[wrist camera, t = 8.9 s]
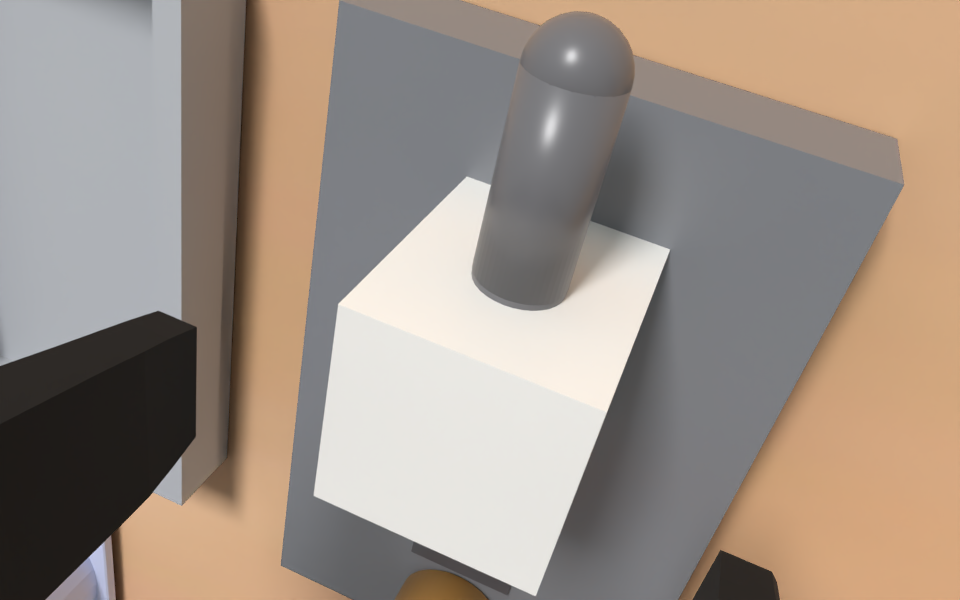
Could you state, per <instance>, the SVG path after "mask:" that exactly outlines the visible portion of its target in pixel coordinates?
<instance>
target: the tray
mask: <svg viewBox="0 0 960 600" xmlns="http://www.w3.org/2000/svg"><path fill="white" fill-rule="evenodd" d="M245 17H246V0H0V366H1V365H4V364H7V363H10V362H13V361H16V360H18V359H21V358H24V357H27V356H30V355H33V354H36V353H38V352H41V351H44V350H47V349H50V348H53V347H56V346H58V345H61V344H64V343H67V342H70V341H72V340H75V339H78V338H81V337H83V336H86V335H89V334H92V333H94V332H97V331H100V330H103V329H106V328H108V327H111V326H114V325H117V324H120V323H123V322H125V321H128V320H131V319H134V318H137V317H140V316H143V315H146V314H150V313H153V312H156V311H161V312H163V313H165V314H168V315H170V316H172V317H175V318H177V319H179V320H182V321H184V322H186V323H189V324H191V325H193V326H196V327H197V376H196V437H195V439H194V440H193V441H192V443H191V444H190V445H189V447H188V448H187V449H186V451H185V452H184V453H183V455H182V456H181V457H180V458H179V460H178V461H177V462H176V464H175V465H174V466H173V468H172V469H171V470H170V472H169V473H168V474H167V475H166V477H165V478H164V479H163V480H162V481H161V483H160V484H159V485H158V486H157V488H156V489H155V490H154V491H153V492H154V493H156V494H158V495H160V496H162V497H164V498H166V499H168V500H170V501H173V502H175V503H177V504H179V505H181V506H182V505H183V504H184V503H185V502H186V501H187V500H188V499H189V497H190V496H191V495H192V494H193V493H194V492H195V491H196V490H197V489H198V488H199V487H200V486H201V485H202V484H203V483H204V482H205V480H206V479H207V478H208V477H209V476H210V475H211V474H212V473H213V472H214V471H215V470H216V469H217V468H218V467H219V466H220V465H221V463H222V462H223V461H224V460H225V459H226V458H227V446H228V422H229V398H230V375H231V351H232V327H233V303H234V279H235V255H236V232H237V208H238V184H239V160H240V136H241V112H242V89H243V65H244V41H245Z"/></svg>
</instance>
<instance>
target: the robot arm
mask: <svg viewBox="0 0 960 600" xmlns="http://www.w3.org/2000/svg"><path fill="white" fill-rule="evenodd" d="M196 376H197V327H196V326H193V325H191V324H189V323H186V322H184V321H182V320H179V319H177V318H175V317H172V316H170V315H168V314H165V313H163V312H161V311H156V312H153V313H150V314H146V315H143V316H140V317H137V318H134V319H131V320H128V321H125V322H123V323H120V324H117V325H114V326H111V327H108V328H106V329H103V330H100V331H97V332H94V333H92V334H89V335H86V336H83V337H81V338H78V339H75V340H72V341H70V342H67V343H64V344H61V345H58V346H56V347H53V348H50V349H47V350H44V351H41V352H38V353H36V354H33V355H30V356H27V357H24V358H21V359H18V360H16V361H13V362H10V363H7V364H4V365H1V366H0V600H116V596H115V582H114V569H113V555H112V542H111V535H112V534H113V533H114V532H115V531H116V530H117V529H118V528H119V527H120V526H121V525H122V524H123V523H124V522H125V521H126V520H127V519H128V518H129V517H130V516H131V515H132V514H133V513H134V512H135V511H136V510H137V509H138V508H139V507H140V506H141V505H142V503H143V502H144V501H145V500H146V499H147V498H148V497H149V496H150V495H151V494H152V493H153V491H154V490H155V489H156V488H157V486H158V485H159V484H160V483H161V481H162V480H163V479H164V478H165V477H166V475H167V474H168V473H169V472H170V470H171V469H172V468H173V466H174V465H175V464H176V462H177V461H178V460H179V458H180V457H181V456H182V455H183V453H184V452H185V451H186V449H187V448H188V447H189V445H190V444H191V443H192V441H193V440H194V439H195V437H196ZM693 600H780V598H779V592H778V586H777V582H776V579H775V577H774V575H773V573H772V572H771V571H769V570H766V569H764V568H762V567H759V566H757V565H755V564H752V563H750V562H747V561H745V560H743V559H740V558H738V557H736V556H733V555H731V554H729V553H726V552H724V551H722V550H720V552H719V554H718V556H717V557H716V559H715V561H714V563H713V565H712V566H711V568H710V570H709V572H708V573H707V575H706V577H705V579H704V581H703V582H702V584H701V586H700V588H699V589H698V591H697V593H696V595H695V596H694V598H693Z"/></svg>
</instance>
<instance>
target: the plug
mask: <svg viewBox="0 0 960 600" xmlns="http://www.w3.org/2000/svg"><path fill="white" fill-rule="evenodd" d="M634 77H635V63H634V58H633V53H632V49H631V47H630V45H629V43H628V40H627V39H626V37H625V36H624V35H623V33H622V32H621V31H620V29H619V28H617V27H616V26H615V25H614V24H613V23H612V22H610V21H609V20H607V19H606V18H603V17H601V16H599V15H597V14H593V13H589V12H578V11H575V12H569V13H564V14H560V15H558V16H556V17H554V18H551V19H549V20H548V21H546V22H545V23H543V24H542V25H541V26H539V28H538V29H537V30H536V31H535V32H534V33H533V34H532V35H531V37H530V38H529V40H528V41H527V43H526V45H525V47H524V49H523V52H522V55H521V58H520V62H519V66H518V70H517V74H516V79H515V83H514V87H513V92H512V96H511V100H510V104H509V109H508V113H507V117H506V122H505V126H504V130H503V135H502V139H501V143H500V147H499V152H498V156H497V160H496V165H495V169H494V173H493V178H492V182H491V185H489V184H487V183H484V182H481V181H478V180H475V179H473V178H470V177H466V178H465V179H464V180H463V181H462V182H461V183H460V184H459V185H458V186H457V187H456V188H455V189H454V190H453V191H452V192H451V193H450V194H449V195H448V196H447V197H446V198H445V199H444V200H443V201H442V202H441V203H440V204H439V205H438V206H437V207H436V208H435V209H434V210H433V211H432V212H431V213H430V214H429V215H428V216H427V217H425V218H424V219H423V220H422V221H421V222H420V223H419V224H418V225H417V226H416V227H415V228H414V229H413V230H412V231H411V232H410V233H409V234H408V235H407V236H406V237H405V238H404V239H403V240H402V241H401V242H400V243H399V244H398V245H397V246H396V247H395V248H394V249H393V250H392V251H391V252H390V253H389V254H388V255H387V256H386V257H385V258H384V259H383V260H382V261H381V262H380V263H379V264H378V265H377V266H376V267H375V268H374V269H373V270H372V271H371V272H370V273H369V274H368V275H367V276H366V277H365V278H364V279H363V280H362V281H361V282H360V283H359V284H358V285H357V286H356V287H355V288H354V289H353V290H352V291H351V292H350V293H349V294H348V295H347V296H346V297H345V298H344V299H343V300H342V301H341V302H340V303H339V304H338V310H337V318H336V325H335V333H334V341H333V349H332V356H331V364H330V372H329V380H328V387H327V395H326V403H325V411H324V418H323V426H322V434H321V442H320V449H319V457H318V465H317V473H316V480H315V488H314V496H315V497H317V498H320V499H322V500H324V501H326V502H328V503H331V504H333V505H335V506H337V507H339V508H342V509H344V510H346V511H348V512H350V513H353V514H355V515H357V516H359V517H361V518H364V519H366V520H368V521H370V522H373V523H375V524H377V525H379V526H381V527H384V528H386V529H388V530H390V531H392V532H395V533H397V534H399V535H401V536H403V537H406V538H408V539H410V540H412V541H414V542H417V543H419V544H421V545H423V546H425V547H428V548H430V549H432V550H434V551H437V552H439V553H441V554H443V555H445V556H448V557H450V558H452V559H454V560H456V561H459V562H461V563H463V564H465V565H467V566H470V567H472V568H474V569H476V570H478V571H481V572H483V573H485V574H487V575H489V576H492V577H494V578H496V579H498V580H500V581H503V582H505V583H507V584H509V585H512V586H514V587H516V588H518V589H520V590H523V591H525V592H527V593H529V594H531V595H534V596H536V594H537V592H538V589H539V586H540V584H541V581H542V579H543V576H544V574H545V571H546V568H547V566H548V563H549V561H550V558H551V556H552V553H553V550H554V548H555V545H556V543H557V540H558V538H559V535H560V532H561V530H562V527H563V525H564V522H565V520H566V517H567V514H568V512H569V509H570V507H571V504H572V502H573V499H574V496H575V494H576V491H577V489H578V486H579V484H580V481H581V478H582V476H583V473H584V471H585V468H586V466H587V463H588V460H589V458H590V455H591V453H592V450H593V448H594V445H595V442H596V440H597V437H598V435H599V432H600V430H601V427H602V424H603V422H604V419H605V417H606V414H607V412H608V409H609V406H610V404H611V401H612V399H613V396H614V394H615V391H616V388H617V386H618V383H619V381H620V378H621V375H622V373H623V370H624V368H625V365H626V363H627V360H628V357H629V355H630V352H631V350H632V347H633V344H634V342H635V339H636V337H637V334H638V332H639V329H640V326H641V324H642V321H643V319H644V316H645V313H646V311H647V308H648V306H649V303H650V301H651V298H652V295H653V293H654V290H655V288H656V285H657V282H658V280H659V277H660V275H661V272H662V270H663V267H664V264H665V262H666V259H667V257H668V254H669V251H670V249H667V248H665V247H662V246H659V245H656V244H654V243H651V242H648V241H645V240H642V239H640V238H637V237H634V236H631V235H628V234H626V233H623V232H620V231H617V230H615V229H612V228H609V227H606V226H603V225H601V224H598V223H595V222H592V221H590V220H591V217H592V214H593V211H594V208H595V204H596V201H597V198H598V195H599V192H600V189H601V185H602V182H603V179H604V176H605V173H606V170H607V166H608V163H609V160H610V157H611V154H612V151H613V148H614V144H615V141H616V138H617V135H618V132H619V129H620V125H621V122H622V119H623V116H624V113H625V110H626V106H627V103H628V100H629V97H630V94H631V91H632V87H633V82H634Z"/></svg>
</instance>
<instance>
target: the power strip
mask: <svg viewBox="0 0 960 600" xmlns="http://www.w3.org/2000/svg"><path fill="white" fill-rule="evenodd" d="M539 26H540V25H536V24H533V23H530V22H527V21H524V20H521V19H518V18H514V17H511V16H508V15H505V14H502V13H499V12H495V11H492V10H489V9H486V8H483V7H480V6H477V5H473V4H470V3H467V2H464V1H461V0H339V9H338V19H337V29H336V38H335V48H334V58H333V67H332V77H331V86H330V96H329V106H328V115H327V125H326V135H325V144H324V154H323V164H322V173H321V183H320V192H319V202H318V212H317V221H316V231H315V241H314V250H313V260H312V270H311V279H310V289H309V298H308V308H307V318H306V327H305V337H304V347H303V356H302V366H301V376H300V385H299V395H298V404H297V414H296V424H295V433H294V443H293V453H292V462H291V472H290V481H289V491H288V501H287V510H286V520H285V530H284V539H283V549H282V559H281V566H283V567H285V568H287V569H289V570H291V571H294V572H296V573H298V574H300V575H302V576H304V577H306V578H308V579H310V580H313V581H315V582H317V583H319V584H321V585H323V586H325V587H327V588H329V589H331V590H334V591H336V592H338V593H340V594H342V595H344V596H346V597H348V598H350V599H353V600H395V598H396V596H397V594H398V593H399V591H400V589H401V587H402V586H403V584H404V582H405V580H406V579H407V578H408V577H409V576H410V575H411V574H413V573H415V572H417V571H421V570H429V569H430V570H440V571H445V572H448V573H451V574H454V575H456V576H459V577H461V578H463V579H464V580H466V581H468V582H469V583H471V584H472V585H474V586H475V587H476V588H477V589H478V590H479V591H481V592H482V593H483V595H484V596H485V597H486V598H487V599H488V600H678V599H679V597H680V595H681V593H682V592H683V590H684V588H685V586H686V584H687V582H688V581H689V579H690V577H691V575H692V573H693V571H694V570H695V568H696V566H697V564H698V562H699V560H700V559H701V557H702V555H703V553H704V551H705V549H706V548H707V546H708V544H709V542H710V540H711V538H712V537H713V535H714V533H715V531H716V529H717V527H718V526H719V524H720V522H721V520H722V518H723V516H724V515H725V513H726V511H727V509H728V507H729V505H730V504H731V502H732V500H733V498H734V496H735V494H736V493H737V491H738V489H739V487H740V485H741V483H742V482H743V480H744V478H745V476H746V474H747V472H748V471H749V469H750V467H751V465H752V463H753V461H754V460H755V458H756V456H757V454H758V452H759V450H760V449H761V447H762V445H763V443H764V441H765V439H766V438H767V436H768V434H769V432H770V430H771V428H772V427H773V425H774V423H775V421H776V419H777V417H778V416H779V414H780V412H781V410H782V408H783V406H784V405H785V403H786V401H787V399H788V397H789V395H790V393H791V392H792V390H793V388H794V386H795V384H796V382H797V381H798V379H799V377H800V375H801V373H802V371H803V370H804V368H805V366H806V364H807V362H808V360H809V359H810V357H811V355H812V353H813V351H814V349H815V348H816V346H817V344H818V342H819V340H820V338H821V337H822V335H823V333H824V331H825V329H826V327H827V326H828V324H829V322H830V320H831V318H832V316H833V315H834V313H835V311H836V309H837V307H838V305H839V304H840V302H841V300H842V298H843V296H844V294H845V293H846V291H847V289H848V287H849V285H850V283H851V282H852V280H853V278H854V276H855V274H856V272H857V271H858V269H859V267H860V265H861V263H862V261H863V260H864V258H865V256H866V254H867V252H868V250H869V249H870V247H871V245H872V243H873V241H874V239H875V238H876V236H877V234H878V232H879V230H880V228H881V227H882V225H883V223H884V221H885V219H886V217H887V216H888V214H889V212H890V210H891V208H892V206H893V205H894V203H895V201H896V199H897V197H898V195H899V194H900V192H901V190H902V188H903V186H904V180H903V173H902V167H901V160H900V154H899V147H898V141H897V139H896V138H893V137H890V136H886V135H883V134H880V133H877V132H874V131H871V130H868V129H864V128H861V127H858V126H855V125H852V124H849V123H845V122H842V121H839V120H836V119H833V118H830V117H827V116H823V115H820V114H817V113H814V112H811V111H808V110H804V109H801V108H798V107H795V106H792V105H789V104H786V103H782V102H779V101H776V100H773V99H770V98H767V97H763V96H760V95H757V94H754V93H751V92H748V91H745V90H741V89H738V88H735V87H732V86H729V85H726V84H722V83H719V82H716V81H713V80H710V79H707V78H704V77H700V76H697V75H694V74H691V73H688V72H685V71H681V70H678V69H675V68H672V67H669V66H666V65H663V64H659V63H656V62H653V61H650V60H647V59H644V58H641V57H637V56H634V55H633V58H634V63H635V77H634V82H633V87H632V91H631V94H630V97H629V100H628V103H627V106H626V110H625V113H624V116H623V119H622V122H621V125H620V129H619V132H618V135H617V138H616V141H615V144H614V148H613V151H612V154H611V157H610V160H609V163H608V166H607V170H606V173H605V176H604V179H603V182H602V185H601V189H600V192H599V195H598V198H597V201H596V204H595V208H594V211H593V214H592V217H591V220H590V221H592V222H595V223H598V224H601V225H603V226H606V227H609V228H612V229H615V230H617V231H620V232H623V233H626V234H628V235H631V236H634V237H637V238H640V239H642V240H645V241H648V242H651V243H654V244H656V245H659V246H662V247H665V248H667V249H670V251H669V254H668V257H667V259H666V262H665V264H664V267H663V270H662V272H661V275H660V277H659V280H658V282H657V285H656V288H655V290H654V293H653V295H652V298H651V301H650V303H649V306H648V308H647V311H646V313H645V316H644V319H643V321H642V324H641V326H640V329H639V332H638V334H637V337H636V339H635V342H634V344H633V347H632V350H631V352H630V355H629V357H628V360H627V363H626V365H625V368H624V370H623V373H622V375H621V378H620V381H619V383H618V386H617V388H616V391H615V394H614V396H613V399H612V401H611V404H610V406H609V409H608V412H607V414H606V417H605V419H604V422H603V424H602V427H601V430H600V432H599V435H598V437H597V440H596V442H595V445H594V448H593V450H592V453H591V455H590V458H589V460H588V463H587V466H586V468H585V471H584V473H583V476H582V478H581V481H580V484H579V486H578V489H577V491H576V494H575V496H574V499H573V502H572V504H571V507H570V509H569V512H568V514H567V517H566V520H565V522H564V525H563V527H562V530H561V532H560V535H559V538H558V540H557V543H556V545H555V548H554V550H553V553H552V556H551V558H550V561H549V563H548V566H547V568H546V571H545V574H544V576H543V579H542V581H541V584H540V586H539V589H538V592H537V594H536V596H534V595H531V594H529V593H527V592H525V591H523V590H520V589H518V588H516V587H514V586H512V585H509V584H507V583H505V582H503V581H500V580H498V579H496V578H494V577H492V576H489V575H487V574H485V573H483V572H481V571H478V570H476V569H474V568H472V567H470V566H467V565H465V564H463V563H461V562H459V561H456V560H454V559H452V558H450V557H448V556H445V555H443V554H441V553H439V552H437V551H434V550H432V549H430V548H428V547H425V546H423V545H421V544H419V543H417V542H414V541H412V540H410V539H408V538H406V537H403V536H401V535H399V534H397V533H395V532H392V531H390V530H388V529H386V528H384V527H381V526H379V525H377V524H375V523H373V522H370V521H368V520H366V519H364V518H361V517H359V516H357V515H355V514H353V513H350V512H348V511H346V510H344V509H342V508H339V507H337V506H335V505H333V504H331V503H328V502H326V501H324V500H322V499H320V498H317V497H315V496H314V488H315V480H316V473H317V465H318V457H319V449H320V442H321V434H322V426H323V418H324V411H325V403H326V395H327V387H328V380H329V372H330V364H331V356H332V349H333V341H334V333H335V325H336V318H337V310H338V304H339V303H340V302H341V301H342V300H343V299H344V298H345V297H346V296H347V295H348V294H349V293H350V292H351V291H352V290H353V289H354V288H355V287H356V286H357V285H358V284H359V283H360V282H361V281H362V280H363V279H364V278H365V277H366V276H367V275H368V274H369V273H370V272H371V271H372V270H373V269H374V268H375V267H376V266H377V265H378V264H379V263H380V262H381V261H382V260H383V259H384V258H385V257H386V256H387V255H388V254H389V253H390V252H391V251H392V250H393V249H394V248H395V247H396V246H397V245H398V244H399V243H400V242H401V241H402V240H403V239H404V238H405V237H406V236H407V235H408V234H409V233H410V232H411V231H412V230H413V229H414V228H415V227H416V226H417V225H418V224H419V223H420V222H421V221H422V220H423V219H424V218H425V217H427V216H428V215H429V214H430V213H431V212H432V211H433V210H434V209H435V208H436V207H437V206H438V205H439V204H440V203H441V202H442V201H443V200H444V199H445V198H446V197H447V196H448V195H449V194H450V193H451V192H452V191H453V190H454V189H455V188H456V187H457V186H458V185H459V184H460V183H461V182H462V181H463V180H464V179H465V178H466V177H470V178H473V179H475V180H478V181H481V182H484V183H487V184H489V185H491V182H492V178H493V173H494V169H495V165H496V160H497V156H498V152H499V147H500V143H501V139H502V135H503V130H504V126H505V122H506V117H507V113H508V109H509V104H510V100H511V96H512V92H513V87H514V83H515V79H516V74H517V70H518V66H519V62H520V58H521V55H522V52H523V49H524V47H525V45H526V43H527V41H528V40H529V38H530V37H531V35H532V34H533V33H534V32H535V31H536V30H537V29H538V28H539Z"/></svg>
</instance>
